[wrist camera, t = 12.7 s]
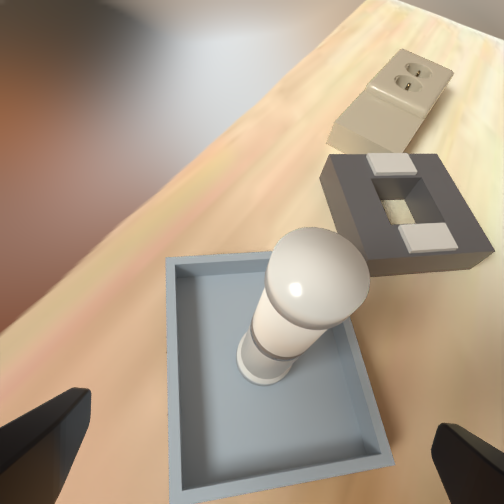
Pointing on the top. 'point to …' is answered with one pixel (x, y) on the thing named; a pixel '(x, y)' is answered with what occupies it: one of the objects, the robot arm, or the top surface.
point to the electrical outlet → (390, 106)
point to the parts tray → (257, 392)
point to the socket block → (419, 203)
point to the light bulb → (301, 301)
